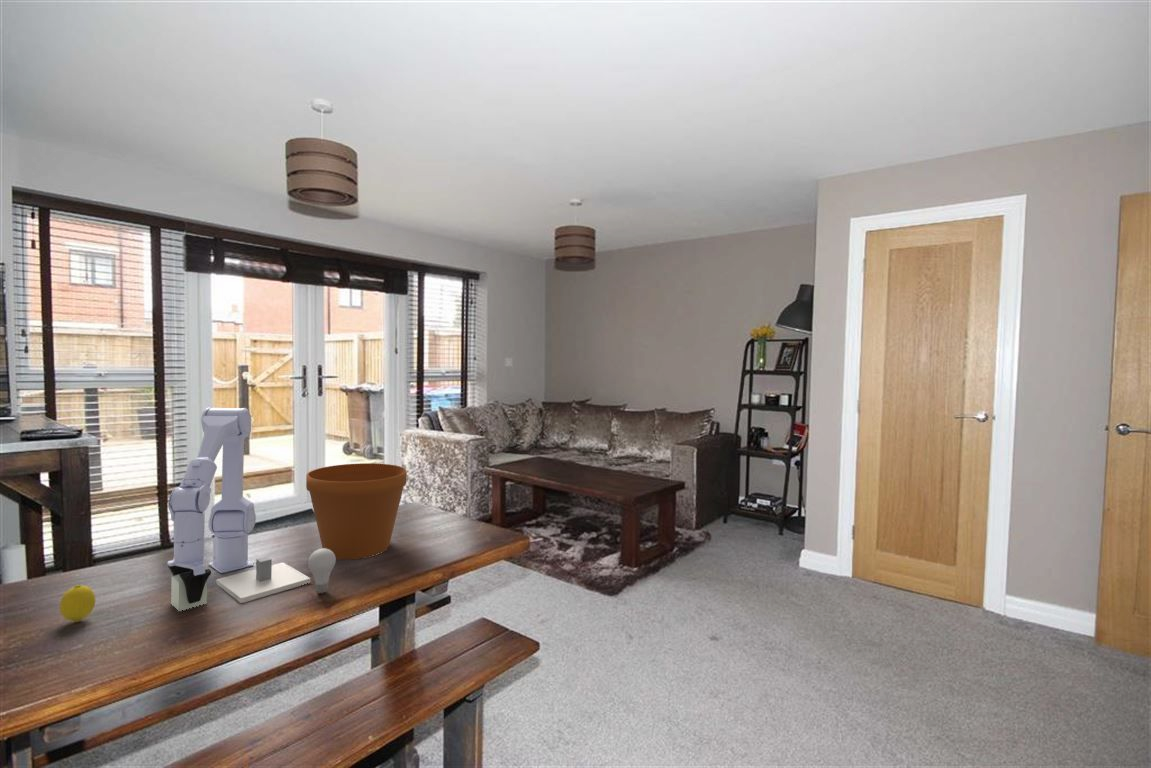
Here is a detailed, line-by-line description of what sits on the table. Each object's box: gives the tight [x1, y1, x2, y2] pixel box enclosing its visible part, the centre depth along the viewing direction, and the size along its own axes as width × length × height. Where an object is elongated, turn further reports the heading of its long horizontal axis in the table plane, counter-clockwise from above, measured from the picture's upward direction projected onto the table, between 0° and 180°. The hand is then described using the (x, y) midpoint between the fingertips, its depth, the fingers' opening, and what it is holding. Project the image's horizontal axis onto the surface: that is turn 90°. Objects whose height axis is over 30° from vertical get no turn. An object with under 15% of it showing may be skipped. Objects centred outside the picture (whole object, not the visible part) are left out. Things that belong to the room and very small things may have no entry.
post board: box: [215, 556, 311, 604], centre depth 137 cm, size 16×16×6 cm
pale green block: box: [170, 574, 208, 612], centre depth 124 cm, size 5×5×7 cm
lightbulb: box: [307, 548, 337, 594], centre depth 132 cm, size 6×6×11 cm
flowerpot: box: [305, 462, 408, 561], centre depth 163 cm, size 28×28×24 cm
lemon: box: [59, 584, 96, 623], centre depth 115 cm, size 6×6×8 cm
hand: (189, 597), depth 124 cm, fingers open, 7 cm apart
